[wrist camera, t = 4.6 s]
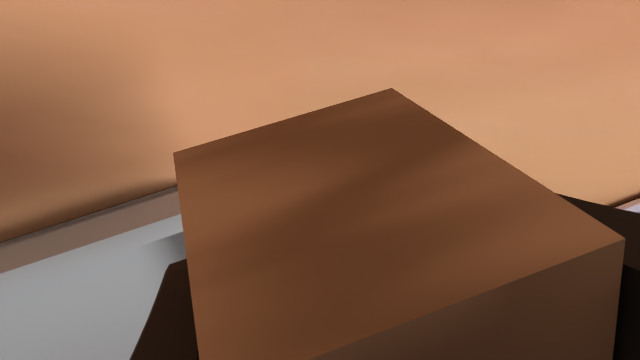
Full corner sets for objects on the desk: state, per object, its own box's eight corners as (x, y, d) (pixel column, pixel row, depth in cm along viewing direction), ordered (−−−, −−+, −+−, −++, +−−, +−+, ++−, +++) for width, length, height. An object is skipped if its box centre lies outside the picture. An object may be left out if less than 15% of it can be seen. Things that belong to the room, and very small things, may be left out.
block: (391, 87, 11) (631, 242, 5) (414, 262, 13) (602, 493, 8) (173, 152, 10) (204, 404, 5) (236, 326, 12) (307, 633, 7)
